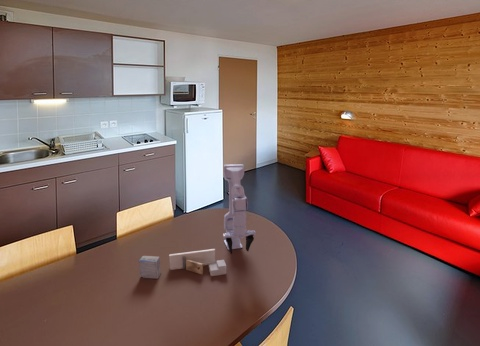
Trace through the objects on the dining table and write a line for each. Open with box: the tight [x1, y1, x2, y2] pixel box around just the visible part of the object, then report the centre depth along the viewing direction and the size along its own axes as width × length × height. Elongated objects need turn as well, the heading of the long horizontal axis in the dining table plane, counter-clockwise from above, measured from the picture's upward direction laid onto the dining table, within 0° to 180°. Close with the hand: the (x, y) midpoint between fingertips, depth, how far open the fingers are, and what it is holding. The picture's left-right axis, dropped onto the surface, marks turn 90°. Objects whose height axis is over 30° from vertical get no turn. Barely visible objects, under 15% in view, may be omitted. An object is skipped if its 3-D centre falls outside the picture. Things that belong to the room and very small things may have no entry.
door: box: [185, 259, 204, 275], centre depth 138 cm, size 8×2×5 cm, turn 66°
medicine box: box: [138, 255, 162, 280], centre depth 135 cm, size 8×4×9 cm, turn 84°
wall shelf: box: [168, 248, 216, 271], centre depth 142 cm, size 3×21×7 cm, turn 105°
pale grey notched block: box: [208, 259, 227, 277], centre depth 139 cm, size 5×7×4 cm
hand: (239, 251), depth 138 cm, fingers open, 7 cm apart
